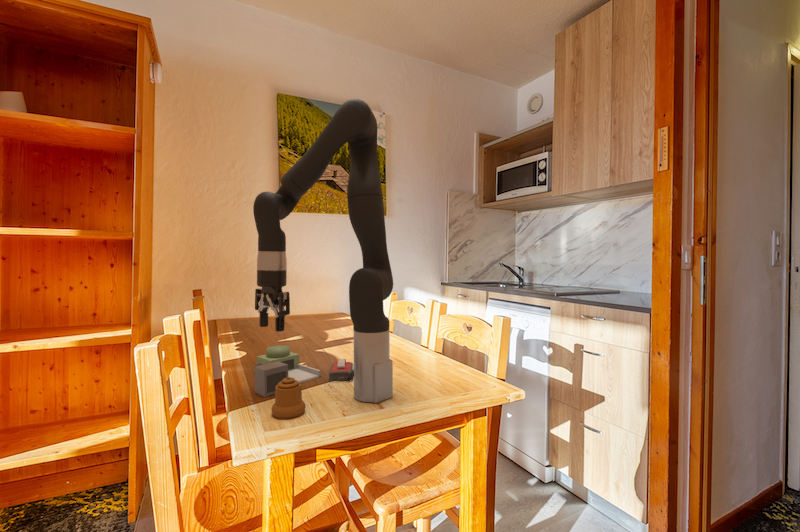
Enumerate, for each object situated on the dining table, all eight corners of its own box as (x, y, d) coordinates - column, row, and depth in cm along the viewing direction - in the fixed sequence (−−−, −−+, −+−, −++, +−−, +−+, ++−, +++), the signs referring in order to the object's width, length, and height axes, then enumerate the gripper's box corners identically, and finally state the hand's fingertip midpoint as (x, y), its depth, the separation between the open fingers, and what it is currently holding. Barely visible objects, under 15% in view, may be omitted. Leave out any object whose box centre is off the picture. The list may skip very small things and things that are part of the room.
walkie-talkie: (358, 383, 110) (360, 364, 130) (358, 368, 110) (360, 351, 130) (327, 384, 110) (333, 365, 130) (327, 369, 110) (333, 351, 129)
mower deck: (322, 376, 116) (322, 351, 116) (288, 386, 107) (288, 359, 107) (287, 364, 129) (287, 342, 128) (254, 372, 120) (254, 349, 120)
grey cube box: (288, 390, 104) (288, 364, 104) (264, 397, 99) (264, 370, 99) (278, 386, 108) (278, 361, 108) (254, 393, 102) (254, 366, 102)
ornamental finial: (277, 407, 93) (308, 406, 93) (267, 420, 85) (301, 419, 85) (276, 374, 93) (308, 373, 93) (266, 384, 85) (300, 384, 85)
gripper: (298, 269, 101) (298, 331, 101) (271, 267, 111) (271, 323, 111) (272, 269, 95) (271, 335, 96) (246, 267, 105) (245, 326, 106)
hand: (271, 328), depth 103 cm, fingers open, 8 cm apart
